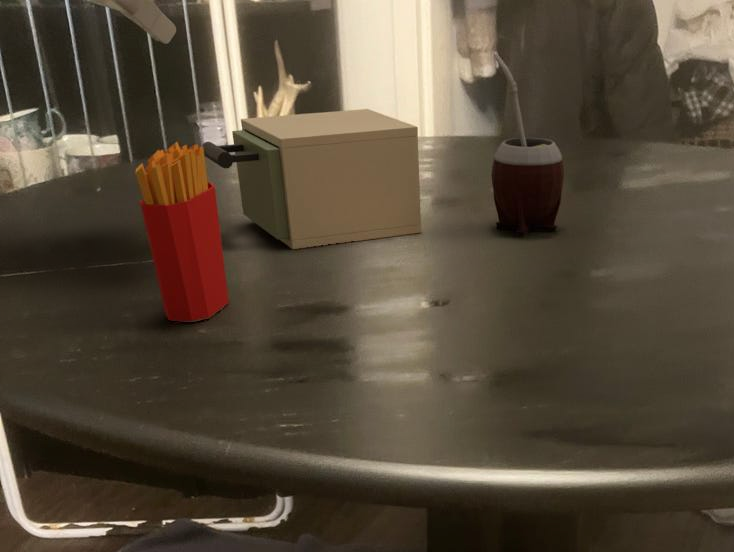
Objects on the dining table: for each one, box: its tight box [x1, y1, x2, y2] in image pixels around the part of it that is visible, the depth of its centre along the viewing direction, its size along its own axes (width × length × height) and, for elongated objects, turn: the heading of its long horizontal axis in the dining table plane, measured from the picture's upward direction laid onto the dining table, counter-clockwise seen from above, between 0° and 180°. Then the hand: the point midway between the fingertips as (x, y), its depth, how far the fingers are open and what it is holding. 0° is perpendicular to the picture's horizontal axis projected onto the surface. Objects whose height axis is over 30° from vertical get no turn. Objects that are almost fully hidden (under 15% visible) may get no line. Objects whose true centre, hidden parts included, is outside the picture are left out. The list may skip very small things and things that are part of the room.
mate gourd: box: [491, 53, 565, 238], centre depth 95 cm, size 8×8×15 cm
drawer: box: [201, 129, 289, 241], centre depth 96 cm, size 16×11×8 cm
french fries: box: [135, 141, 230, 321], centre depth 75 cm, size 8×4×12 cm, turn 169°
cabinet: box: [240, 108, 422, 250], centre depth 98 cm, size 14×13×10 cm
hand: (168, 36), depth 85 cm, fingers closed
